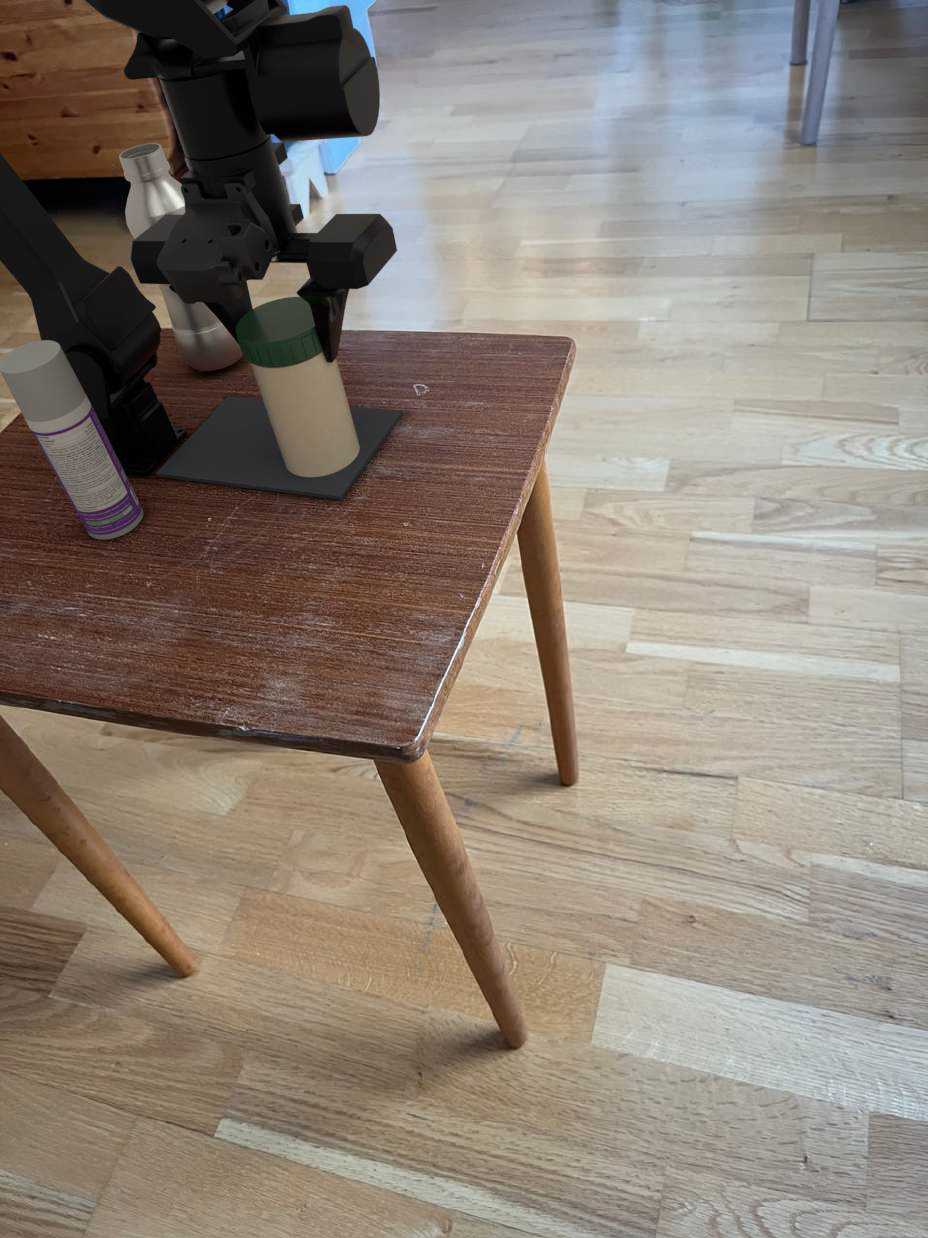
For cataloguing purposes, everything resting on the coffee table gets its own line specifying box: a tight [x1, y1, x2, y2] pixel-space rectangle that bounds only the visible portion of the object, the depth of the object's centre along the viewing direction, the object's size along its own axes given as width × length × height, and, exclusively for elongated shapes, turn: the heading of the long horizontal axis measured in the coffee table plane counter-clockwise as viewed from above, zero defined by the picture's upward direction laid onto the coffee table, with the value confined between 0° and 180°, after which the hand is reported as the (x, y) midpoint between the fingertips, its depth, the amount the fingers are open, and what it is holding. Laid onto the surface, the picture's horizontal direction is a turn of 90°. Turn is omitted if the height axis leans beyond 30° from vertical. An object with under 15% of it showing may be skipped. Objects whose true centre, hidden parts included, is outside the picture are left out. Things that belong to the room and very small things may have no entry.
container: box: [0, 340, 144, 540], centre depth 72 cm, size 5×5×15 cm
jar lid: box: [236, 296, 323, 367], centre depth 71 cm, size 7×7×2 cm
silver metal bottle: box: [118, 142, 244, 372], centre depth 87 cm, size 6×7×20 cm
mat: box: [155, 395, 404, 501], centre depth 82 cm, size 18×12×1 cm, turn 68°
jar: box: [249, 351, 360, 477], centre depth 75 cm, size 6×6×12 cm
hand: (293, 357), depth 73 cm, fingers closed on jar lid, 6 cm apart
